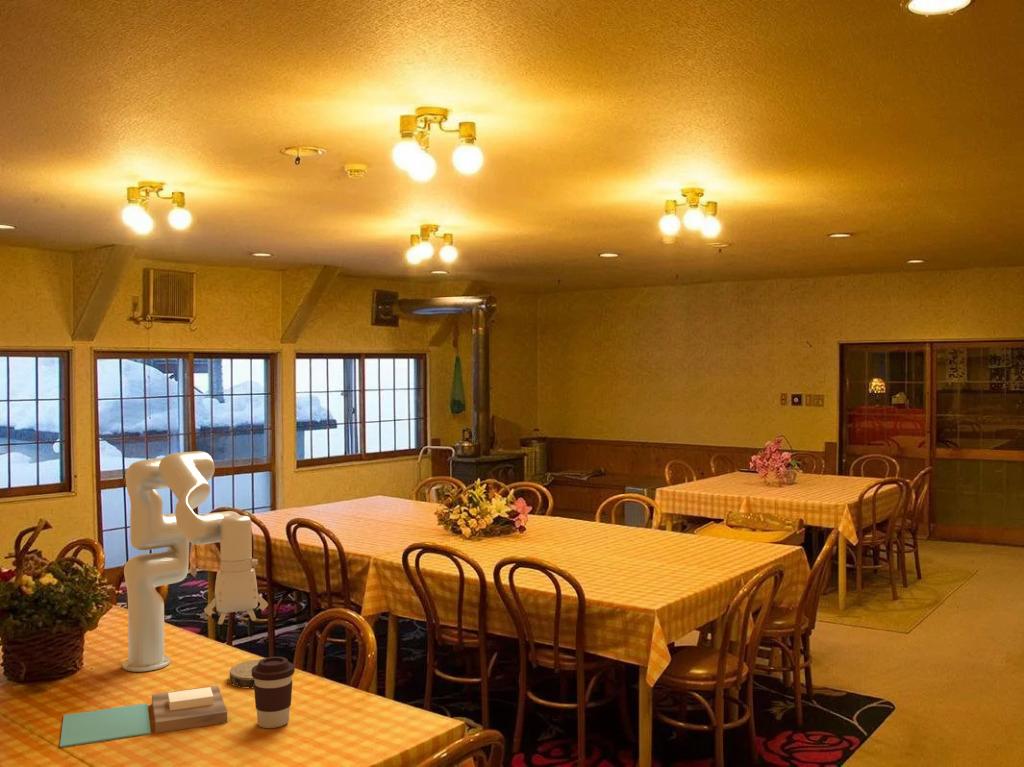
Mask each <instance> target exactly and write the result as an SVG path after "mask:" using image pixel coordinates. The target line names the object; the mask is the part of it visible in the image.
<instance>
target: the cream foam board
mask: <svg viewBox="0 0 1024 767" xmlns="http://www.w3.org/2000/svg"><path fill="white" fill-rule="evenodd" d="M206 687H207V688H202V687H199V688H200V689H195V688H192V689H193V690H187V689H184V690H185V691H180V690H177V691H178V692H173V691H170V692H171V693H168V702H169V708H170V711H171V710H178V709H184V708H191V707H198V706H205V705H212V704H214V701H213V693H212V690H211V687H210V686H206Z"/></svg>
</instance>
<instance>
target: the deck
mask: <svg viewBox="0 0 1024 767" xmlns="http://www.w3.org/2000/svg"><path fill="white" fill-rule="evenodd" d="M207 687H208V686H204V687H203V686H202V687H195V688H188V689H182V690H174V691H173V690H172V691H166V692H159V693H152V694H151V707H152V714H153V721H154V722H153V723H154V729H155V734H158V733H165V732H166V733H167V732H173V731H179V730H185V729H192V728H193V729H194V728H200V727H204V726H211V725H212V724H213V725H217V724H218V723H219V724H224V722H226V723H228V710H227V707H226V704H225V702H224V698H223V696H222V695H223V694H222V692H221V690H220V688H219V685H218V684H217V685H212V686H211V685H210V686H209V687H211V690H212V693H213V701H214V704H212V705H205V706H198V707H191V708H184V709H178V710H171V711H170V708H169V702H168V693H171V692H178V691H185V690H193V689H200V688H207ZM219 724H218V725H219Z"/></svg>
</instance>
